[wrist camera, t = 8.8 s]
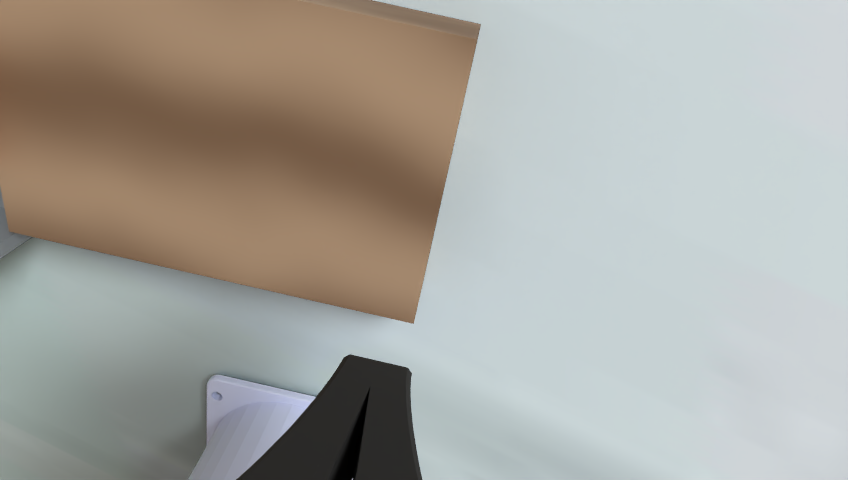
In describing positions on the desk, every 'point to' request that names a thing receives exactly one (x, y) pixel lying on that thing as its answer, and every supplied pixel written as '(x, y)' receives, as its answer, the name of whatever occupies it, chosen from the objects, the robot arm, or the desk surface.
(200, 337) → the desk surface
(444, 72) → the walnut board
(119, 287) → the desk surface
